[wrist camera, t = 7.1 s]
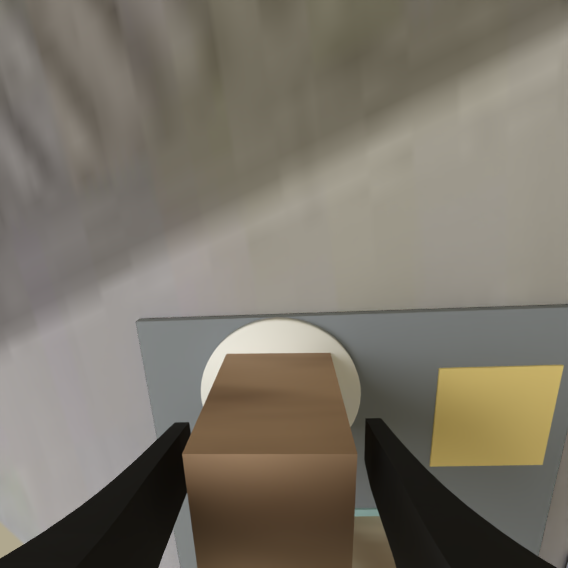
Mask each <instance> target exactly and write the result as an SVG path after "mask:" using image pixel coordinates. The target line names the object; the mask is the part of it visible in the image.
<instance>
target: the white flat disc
mask: <svg viewBox="0 0 568 568" xmlns="http://www.w3.org/2000/svg"><path fill="white" fill-rule="evenodd" d="M250 353H331V357H332V361H333V364H334V368H335V372H336V376H337V379H338V383H339V387H340V391H341V394H342V398H343V402H344V406H345V409H346V413H347V417H348V421H349V424H350V427H351V426H352V424H353V422H354V420H355V418H356V415H357V413H358V409H359V405H360V398H361V388H360V381H359V376H358V373H357V371H356V368H355V365H354V363H353V360H352V359H351V357H350V355H349V353H348V352H347V350H346V349H345V348H344V346H343V345H342V344H341V343H340V342H339V341H338V340H337V339H336V338H335V337H334V336H333V335H331V334H330V333H329V332H327V331H326V330H324V329H322V328H321V327H319V326H317V325H315V324H312V323H310V322H307V321H303V320H300V319H295V318H288V317H273V318H265V319H260V320H256V321H253V322H250V323H247V324H245V325H243V326H241V327H239V328H237V329H236V330H234V331H233V332H231V333H230V334H229V335H228V336H226V337H225V338H224V339H223V340H222V341H221V342H220V343H219V345H218V346H217V347H216V348H215V350H214V352H213V353H212V355H211V357H210V359H209V360H208V362H207V365H206V367H205V370H204V372H203V377H202V381H201V399H202V404H203V406H204V403H205V401H206V399H207V397H208V394H209V392H210V390H211V387H212V385H213V383H214V381H215V378H216V376H217V374H218V372H219V369H220V367H221V365H222V363H223V360H224V358H225V356H226V354H250Z"/></svg>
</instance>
